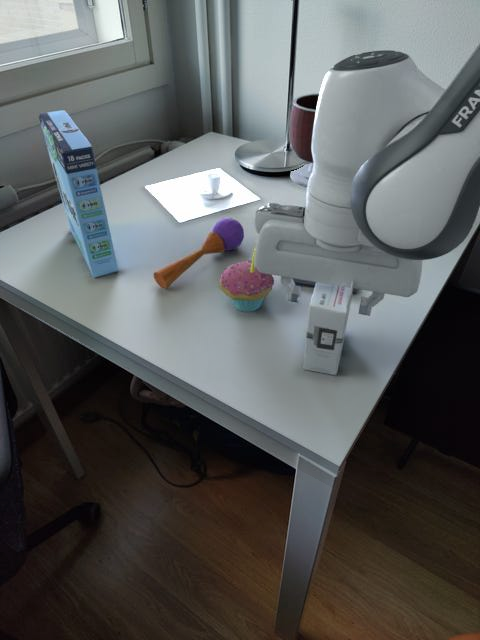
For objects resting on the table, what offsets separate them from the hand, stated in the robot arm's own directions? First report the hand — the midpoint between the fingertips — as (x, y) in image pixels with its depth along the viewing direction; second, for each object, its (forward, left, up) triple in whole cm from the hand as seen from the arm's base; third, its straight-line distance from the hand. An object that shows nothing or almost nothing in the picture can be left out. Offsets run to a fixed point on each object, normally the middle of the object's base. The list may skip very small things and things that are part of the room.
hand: (328, 305), depth 62 cm
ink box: (0, 0, -9) cm, 9 cm away
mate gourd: (+11, -60, -9) cm, 62 cm away
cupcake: (+14, -8, -9) cm, 18 cm away
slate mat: (+3, -22, -9) cm, 24 cm away
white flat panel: (+35, -44, -9) cm, 57 cm away
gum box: (+47, -16, -9) cm, 50 cm away
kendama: (+25, -17, -9) cm, 31 cm away
